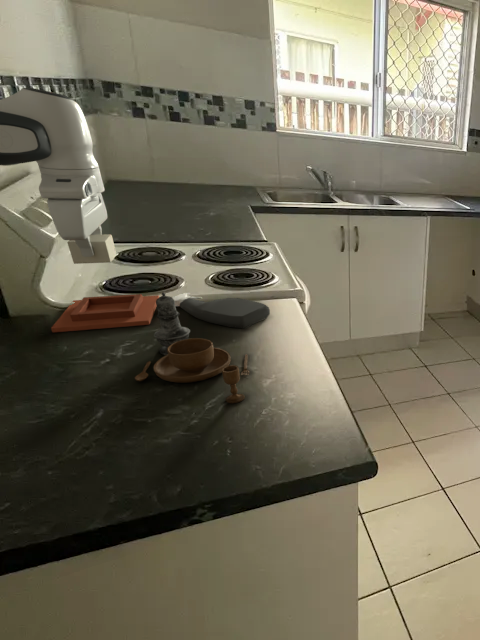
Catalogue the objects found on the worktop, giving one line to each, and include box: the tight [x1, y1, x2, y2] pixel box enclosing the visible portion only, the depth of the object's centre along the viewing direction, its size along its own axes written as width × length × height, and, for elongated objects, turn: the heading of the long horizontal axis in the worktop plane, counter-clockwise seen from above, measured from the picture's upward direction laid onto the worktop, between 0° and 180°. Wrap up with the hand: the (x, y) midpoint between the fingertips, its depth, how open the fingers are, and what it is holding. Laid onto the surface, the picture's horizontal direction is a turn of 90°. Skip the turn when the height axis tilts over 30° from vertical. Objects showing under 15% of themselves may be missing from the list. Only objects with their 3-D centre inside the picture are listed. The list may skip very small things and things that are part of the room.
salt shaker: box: [153, 291, 191, 356], centre depth 91 cm, size 6×6×12 cm
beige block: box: [67, 233, 118, 265], centre depth 99 cm, size 6×6×4 cm
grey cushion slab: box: [171, 291, 271, 329], centre depth 110 cm, size 3×11×24 cm
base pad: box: [50, 293, 160, 333], centre depth 104 cm, size 16×16×2 cm
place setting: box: [134, 337, 250, 404], centre depth 83 cm, size 18×20×6 cm
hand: (93, 251), depth 99 cm, fingers closed on beige block, 6 cm apart
